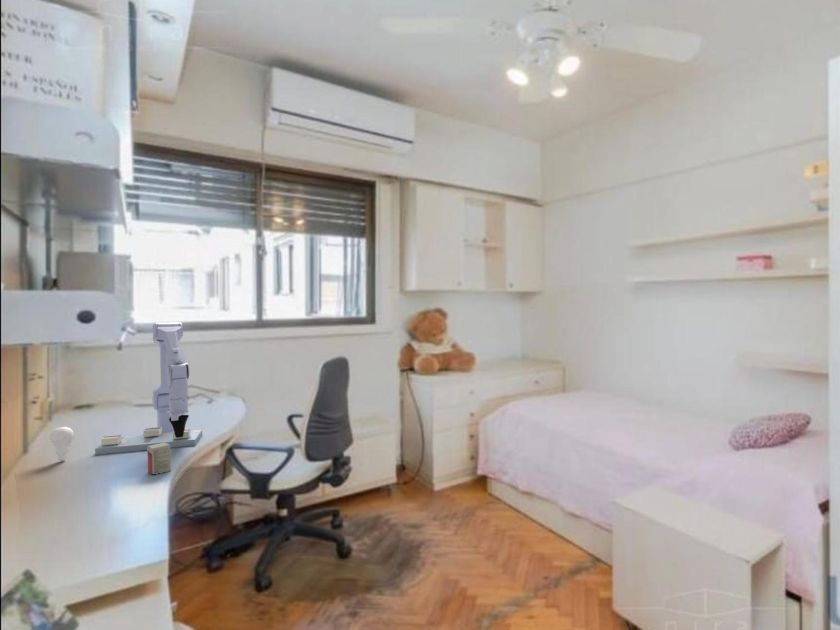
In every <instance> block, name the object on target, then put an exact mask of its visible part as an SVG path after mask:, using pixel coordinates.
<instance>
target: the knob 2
mask: <svg viewBox="0 0 840 630" xmlns="http://www.w3.org/2000/svg"><path fill="white" fill-rule="evenodd" d="M161 434H162V427H157V426H156V427H147V428H144V429H143V435H144V437H151V436H159V435H161Z"/></svg>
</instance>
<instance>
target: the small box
mask: <svg viewBox="0 0 840 630" xmlns="http://www.w3.org/2000/svg"><path fill="white" fill-rule="evenodd" d="M146 451H147V473H148V474H150V473H151V474H150V475H152V474H156V475H159V474H158V473H160V474H162V473H163V472H164V473H167V472H171V470H172V469H171V468H172V467H171V466H172V465H171V464H172V463H171V448H170V445H169V444H167V443H160V444H155V445H151V446H147V450H146Z"/></svg>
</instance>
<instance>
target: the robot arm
mask: <svg viewBox="0 0 840 630" xmlns="http://www.w3.org/2000/svg"><path fill="white" fill-rule="evenodd" d="M183 326H184V325H183V323H182V322H181V321H179V322H154V323H153V324H152V341H153V343H154V344H157V345H158V347H159V355H160V356H159V360H160V363H159V364H160V367H159V368H160V384H159V385H158V386H157V387H156V388H154V389H153V391H152V408H153V409H154V411H156V414H157V415H156V416H157V417H156V418H157V420H156V423H157V424H156V427H162V433H168V432H174V433H175V436H176V438H178V437H183V435H184V430H185V429H186V424H187V421H188V420H189V417H190V415H189V414H188V413H189V411H190V410H189V399H188V398H189V397H188V380H189V378H190V368H189V366H190V365H189V364H188V363H187V361H186V359H185V355H184V352H183V350H181V348H179V342H180V341H181V339H182V338H183V336H184V327H183Z"/></svg>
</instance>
